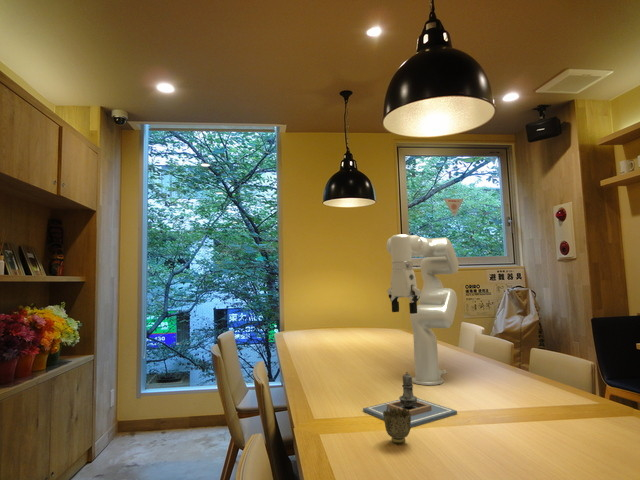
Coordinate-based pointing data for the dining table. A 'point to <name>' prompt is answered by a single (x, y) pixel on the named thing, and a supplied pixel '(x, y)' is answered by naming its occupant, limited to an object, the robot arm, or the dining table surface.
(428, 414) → the board
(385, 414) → the cup
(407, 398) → the dark grey chess piece
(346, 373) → the dining table surface
